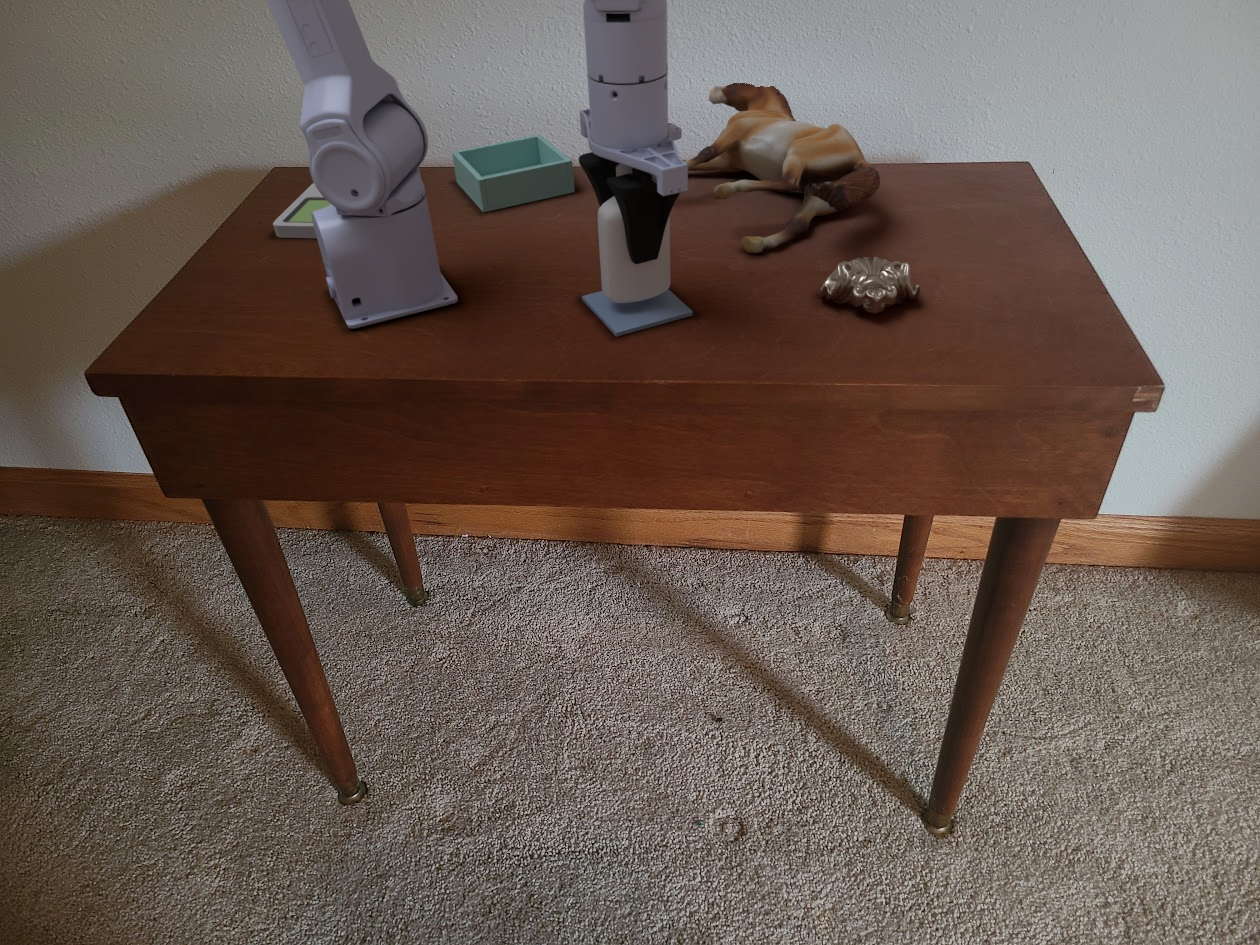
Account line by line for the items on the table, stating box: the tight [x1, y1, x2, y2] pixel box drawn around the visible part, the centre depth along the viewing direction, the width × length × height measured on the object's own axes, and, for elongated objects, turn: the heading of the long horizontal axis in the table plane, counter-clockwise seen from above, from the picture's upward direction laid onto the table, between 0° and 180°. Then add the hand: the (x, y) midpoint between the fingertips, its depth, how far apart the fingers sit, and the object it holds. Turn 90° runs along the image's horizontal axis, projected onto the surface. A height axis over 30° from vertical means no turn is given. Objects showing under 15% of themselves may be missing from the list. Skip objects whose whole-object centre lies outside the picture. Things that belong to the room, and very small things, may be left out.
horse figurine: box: [682, 83, 881, 254], centre depth 90 cm, size 31×8×21 cm
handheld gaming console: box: [272, 182, 331, 239], centre depth 94 cm, size 10×2×15 cm
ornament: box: [818, 256, 921, 314], centre depth 74 cm, size 8×7×4 cm
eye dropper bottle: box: [597, 164, 671, 303], centre depth 71 cm, size 4×6×12 cm
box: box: [451, 134, 576, 213], centre depth 96 cm, size 10×9×3 cm
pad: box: [581, 289, 694, 338], centre depth 76 cm, size 7×7×1 cm
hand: (634, 250), depth 73 cm, fingers closed on eye dropper bottle, 3 cm apart
